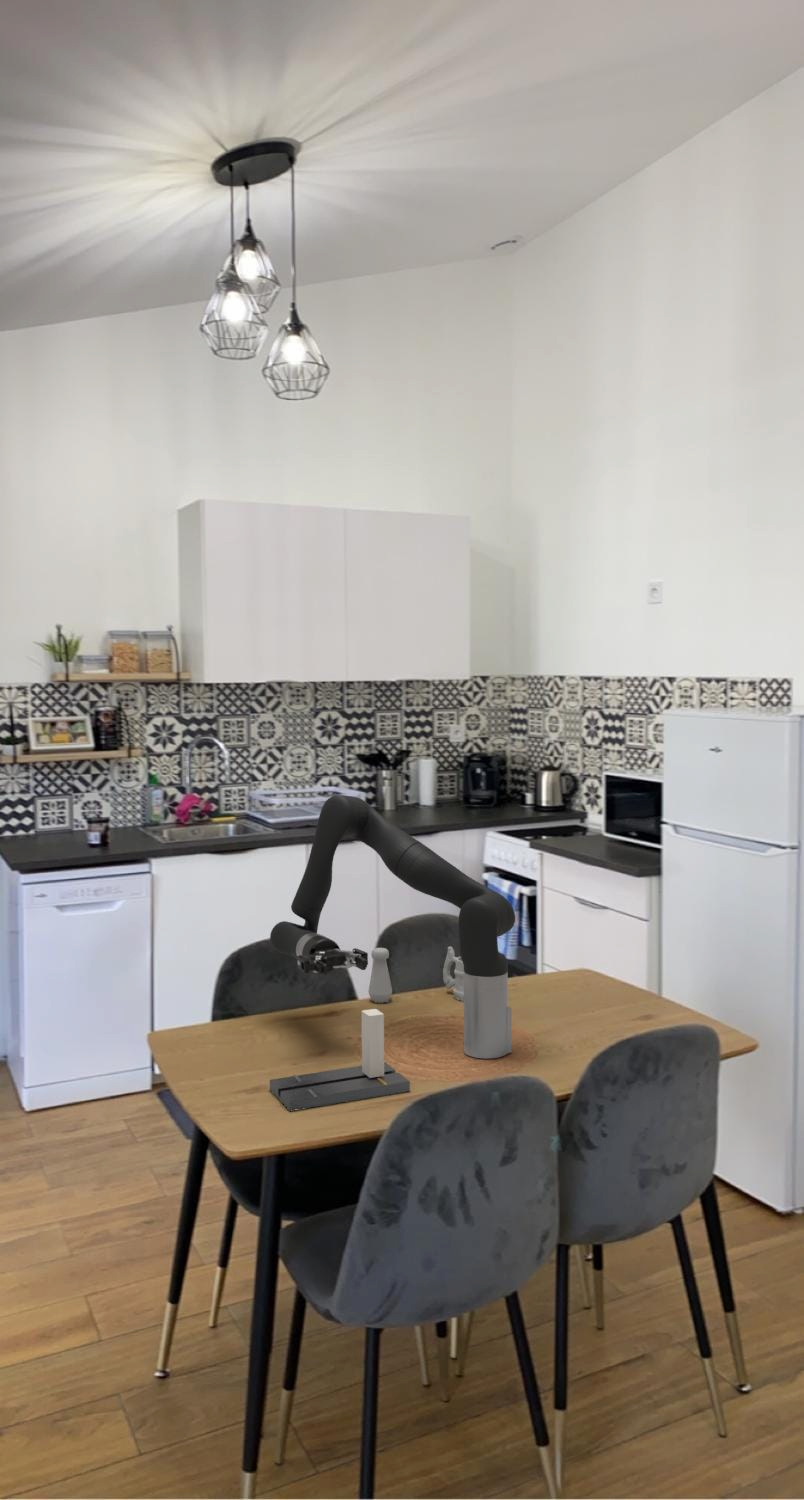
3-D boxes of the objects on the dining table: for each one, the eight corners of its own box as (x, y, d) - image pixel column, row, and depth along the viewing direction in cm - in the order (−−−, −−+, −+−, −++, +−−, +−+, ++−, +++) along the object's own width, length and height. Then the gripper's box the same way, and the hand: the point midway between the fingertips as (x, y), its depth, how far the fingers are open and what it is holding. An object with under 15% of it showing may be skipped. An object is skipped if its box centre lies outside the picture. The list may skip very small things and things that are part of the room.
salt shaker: (389, 1004, 270) (388, 952, 269) (366, 1003, 271) (365, 951, 270) (394, 998, 275) (393, 946, 275) (371, 997, 277) (371, 945, 276)
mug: (471, 1004, 270) (471, 955, 269) (434, 995, 278) (433, 948, 277) (490, 997, 276) (490, 949, 275) (453, 989, 283) (453, 942, 283)
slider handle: (376, 1074, 217) (375, 1008, 217) (384, 1081, 214) (383, 1014, 213) (362, 1077, 216) (361, 1010, 215) (369, 1083, 212) (369, 1016, 212)
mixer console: (384, 1071, 223) (384, 1060, 222) (409, 1091, 212) (409, 1080, 211) (269, 1090, 213) (269, 1078, 213) (289, 1111, 202) (289, 1099, 202)
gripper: (286, 939, 239) (311, 953, 224) (347, 931, 245) (376, 945, 230) (287, 973, 239) (312, 990, 225) (348, 965, 245) (377, 981, 230)
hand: (345, 967), depth 227 cm, fingers open, 8 cm apart
